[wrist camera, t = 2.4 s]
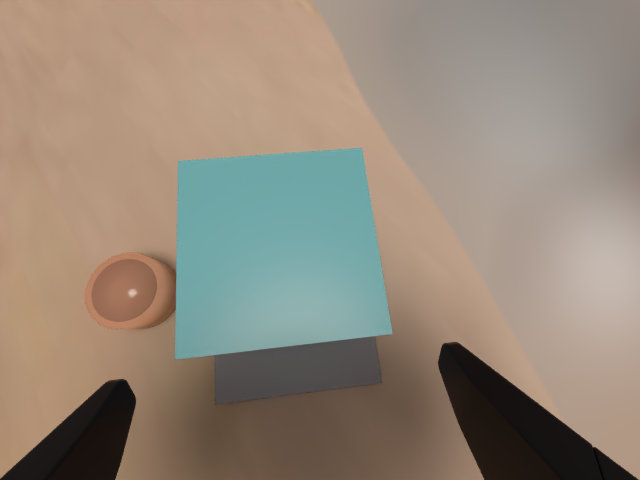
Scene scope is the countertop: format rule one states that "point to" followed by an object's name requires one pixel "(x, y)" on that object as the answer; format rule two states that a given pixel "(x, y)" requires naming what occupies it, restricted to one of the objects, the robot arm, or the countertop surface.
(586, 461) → the robot arm
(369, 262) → the teal rectangular block
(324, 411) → the countertop surface
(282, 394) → the mat
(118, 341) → the countertop surface
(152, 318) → the bowl
